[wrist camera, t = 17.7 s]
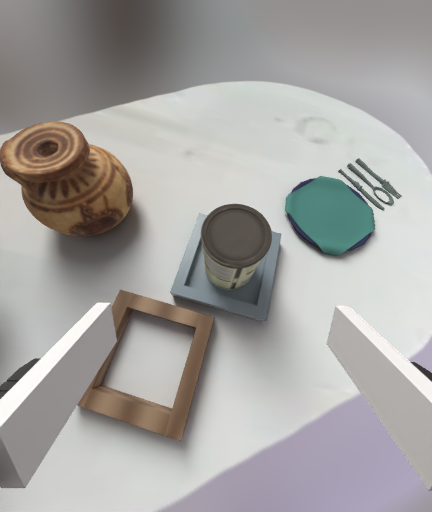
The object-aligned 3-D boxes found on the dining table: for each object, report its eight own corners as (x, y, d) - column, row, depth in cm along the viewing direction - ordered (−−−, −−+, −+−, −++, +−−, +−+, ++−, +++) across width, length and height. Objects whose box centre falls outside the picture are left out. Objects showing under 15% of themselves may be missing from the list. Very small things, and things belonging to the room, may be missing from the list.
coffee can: (217, 236, 46) (219, 193, 33) (260, 255, 44) (282, 219, 31) (194, 276, 42) (187, 247, 29) (241, 299, 40) (256, 279, 27)
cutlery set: (267, 205, 50) (270, 199, 48) (351, 157, 58) (356, 150, 55) (326, 271, 44) (332, 267, 42) (410, 208, 52) (419, 202, 50)
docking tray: (172, 295, 41) (170, 292, 38) (199, 220, 48) (199, 213, 45) (262, 321, 40) (266, 320, 37) (277, 240, 46) (281, 233, 44)
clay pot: (123, 154, 51) (89, 87, 32) (150, 225, 52) (133, 203, 32) (40, 175, 48) (-56, 115, 28) (70, 252, 49) (-3, 245, 29)
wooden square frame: (79, 397, 34) (68, 402, 32) (126, 293, 41) (120, 289, 38) (183, 432, 33) (180, 441, 30) (214, 318, 40) (214, 317, 37)
